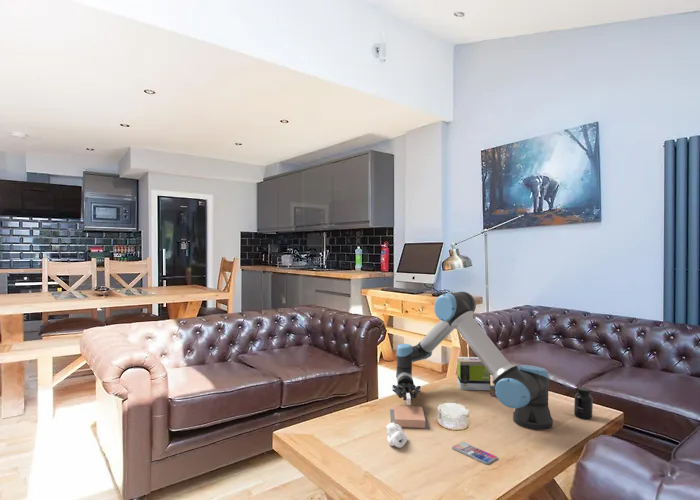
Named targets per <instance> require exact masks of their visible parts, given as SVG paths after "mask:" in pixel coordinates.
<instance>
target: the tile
mask: <svg viewBox="0 0 700 500" xmlns="http://www.w3.org/2000/svg"><path fill="white" fill-rule="evenodd" d="M393 410H394V422H395V424H398V425H400V426H401V427H415V428H414V429H426V428H425V417H424V413H423V411H424V410H423V406H416V405H415V406H411V405H393Z"/></svg>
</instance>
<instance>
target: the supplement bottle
mask: <svg viewBox="0 0 700 500" xmlns="http://www.w3.org/2000/svg"><path fill="white" fill-rule="evenodd" d="M593 402H594V399H593V397H592V396H591V389H590V388H587V387H583V386H578V387H577V391H576V393H575V395H574V404H573V405H574V408H573V413H574V416H575V417H576V418H578V419H581V420H585V421H586V420H591V419H592V418H593V408H594V407H593V406H594V405H593V404H594V403H593Z"/></svg>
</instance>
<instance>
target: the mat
mask: <svg viewBox="0 0 700 500" xmlns="http://www.w3.org/2000/svg"><path fill="white" fill-rule="evenodd" d="M425 411H426V410H423V413H424V417H425V428H424V429H426V430H427V429H430V427H429V423H428V419H427V415H426V412H425ZM389 415H390V416H389V417H390V423H393V422H394V409H390V408H389ZM394 423H395V422H394ZM401 428H402V429H403V428H404V429H405V428H406V429H416V428H415V427H401Z"/></svg>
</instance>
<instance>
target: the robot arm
mask: <svg viewBox="0 0 700 500" xmlns="http://www.w3.org/2000/svg"><path fill="white" fill-rule="evenodd" d="M476 307H477V302H476V299H475V298H474V296H472V294H470V293H469V292H466V291H456V292H445V293H444V294H441V295H439V296H438V297H437V298H436V299H435V302H434V314H435V316H436V317H437V319H438V320H439V321H438V322H437V323H436V324H435V325H434V327H433V328H431V330H430V331H429V332H428V333H427V334H426V335H425V336H424V337H423V338H422V339H420V341H419V342H418V343H417V344H416V345H413V346H412V344H409V343H400V344H398V345H397V346H396V373H395V375H396V380H397V381H396V382H397V384H396V385H395V384H392V387H391V388H392V391H393V392H394V393H395V394H396V395H397V397H398V399H403V401H406V406H411V404H412V403H411V402H412V401H413V400H414V399H417V397H418V395H419V393H420V392H421V389H422V388H421V385H418V386H417V385H416V384H415V383H414V379H413V363H415V362H419V361H422V360H426V359H428V358H430V357H431V356H432V355H433V351H434V350H435V349H436V348H437V347H438V346H439V345H441V343H442V342H443V341H444V340H445V339H446V338H447V337H448V336H449V335H450V334H451V333H452V332H454V330H455V329H456V330H457V332H458V333H459V335H461V337H462V338H463V339H464V340H465V342H466V344H467V345H468V346H469V347H470V348H471V350H472V351H473V352H474V354H475V355H476V357H478V358H479V359H480V360H481V362H482V363H483V364H484V366H485V367H486V368H487V370H488V371H489V372H490V376H491V377H492V380H491V383H492V384H493V385H495V390H496V392H495V393H496V396H497V397H496V398H497V399H498V401H499V402H500V403H501V404H502V405H504V406H505V407H507V408H510V409H514V411H513V412H512V420H513V422H514V423H515V424H516V425H519V426H520V427H521V428H525V429H530V430H536V431H545V430H550V429H552V428H553V426H554V425H553V424H554V419H553V417H552V415H551V410H550V408H549V389H550V387H549V384H550V383H549V380H550V377H549V376H550V375H549V371H548V370H547V369H546V368H543V367H541V366H535V365H532V364H531V365H529V364H520V365H518V366H517V364H512V363H510V362H509V361H508V359H507V358H506V357H505V356H504V354H503V353H502V351H500V349H499V348H498V347H497V345H496V344H495V343H494V342H493V341H492V339H491V338H490V337H489V336H488V335H487V332H486V331H484V330H483V328H482V327H481V326H480V325H479V323H478V322H477V321H476V319H475V318H474V313H475V311H476Z"/></svg>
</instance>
